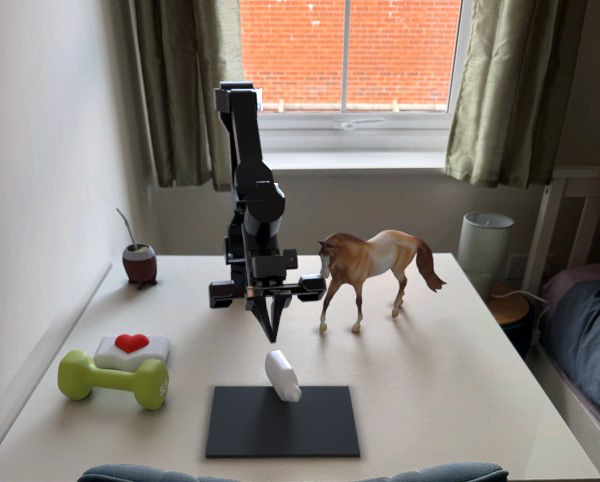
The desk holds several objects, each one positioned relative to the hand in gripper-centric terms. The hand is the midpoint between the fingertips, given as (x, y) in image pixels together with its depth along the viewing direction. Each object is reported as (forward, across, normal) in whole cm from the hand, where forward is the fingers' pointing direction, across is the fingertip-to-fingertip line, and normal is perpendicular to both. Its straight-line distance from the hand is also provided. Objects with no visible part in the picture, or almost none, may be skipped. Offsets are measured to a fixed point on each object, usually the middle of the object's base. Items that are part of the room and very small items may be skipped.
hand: (273, 342), depth 96 cm
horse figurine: (-6, +24, +17) cm, 30 cm away
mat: (+13, 0, -2) cm, 13 cm away
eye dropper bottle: (+3, 0, +4) cm, 5 cm away
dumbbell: (+6, -25, +5) cm, 26 cm away
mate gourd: (-25, -22, +36) cm, 49 cm away
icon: (-2, -23, +13) cm, 27 cm away
